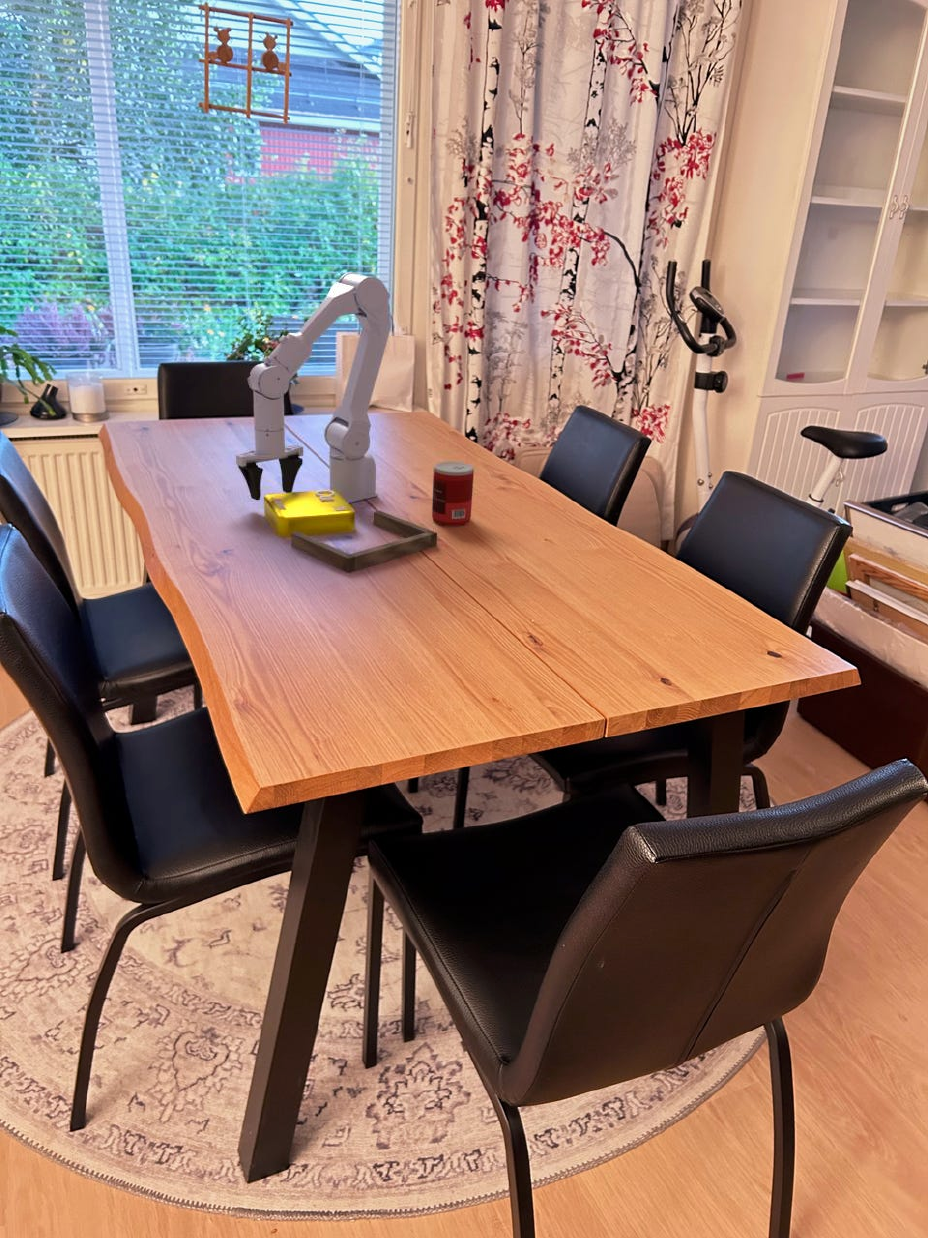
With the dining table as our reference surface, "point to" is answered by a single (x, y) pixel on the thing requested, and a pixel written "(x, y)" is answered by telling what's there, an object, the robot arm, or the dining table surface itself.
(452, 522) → the canned food
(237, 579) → the dining table surface
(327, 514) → the element tile
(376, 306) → the robot arm
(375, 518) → the walnut holder
